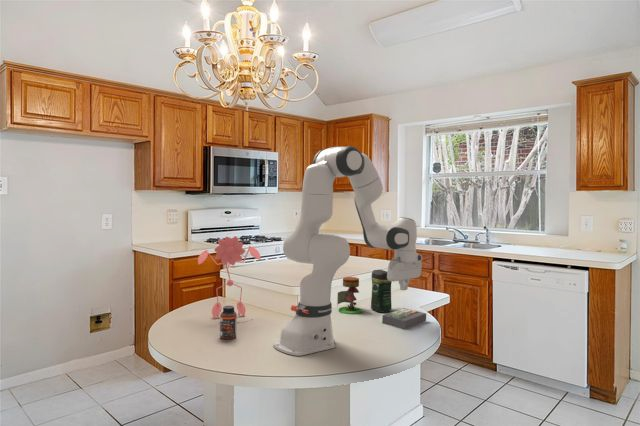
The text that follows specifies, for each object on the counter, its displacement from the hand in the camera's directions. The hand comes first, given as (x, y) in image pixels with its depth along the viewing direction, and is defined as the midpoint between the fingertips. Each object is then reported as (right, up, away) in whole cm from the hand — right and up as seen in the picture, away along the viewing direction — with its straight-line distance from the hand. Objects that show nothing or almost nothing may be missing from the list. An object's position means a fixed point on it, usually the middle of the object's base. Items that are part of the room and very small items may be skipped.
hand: (403, 289), depth 178 cm
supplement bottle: (-69, -14, -20) cm, 73 cm away
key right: (+4, -13, +5) cm, 14 cm away
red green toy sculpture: (-21, -13, +18) cm, 31 cm away
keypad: (+1, -14, +1) cm, 14 cm away
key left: (-3, -11, -2) cm, 12 cm away
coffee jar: (-7, -13, +20) cm, 25 cm away
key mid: (+1, -11, +1) cm, 11 cm away
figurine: (-73, -13, +2) cm, 74 cm away
